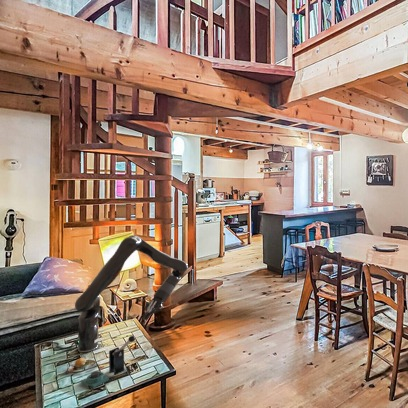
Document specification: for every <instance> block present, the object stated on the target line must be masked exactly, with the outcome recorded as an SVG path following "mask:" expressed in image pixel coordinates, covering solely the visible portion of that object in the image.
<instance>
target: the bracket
mask: <svg viewBox="0 0 408 408" xmlns="http://www.w3.org/2000/svg"><path fill="white" fill-rule="evenodd" d="M116 349H117V350H119V349H120V346H119V347H115V348H113V349H110V350H109V351H108V371H109V372H108V373H109V374H112V373H113V375H114V376H117V375H118V374H121V373H122V372H124V371H125V348H124V349H121V350H119V351H117V352H114V351H115V350H116ZM113 352H114V356H113V355H112V353H113Z"/></svg>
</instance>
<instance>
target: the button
mask: <svg viewBox="0 0 408 408" xmlns="http://www.w3.org/2000/svg"><path fill="white" fill-rule="evenodd" d="M100 372H101V371H99V370H95V371H93V372H91V373H90V375H91V378H97V377H99V376H100Z"/></svg>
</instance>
